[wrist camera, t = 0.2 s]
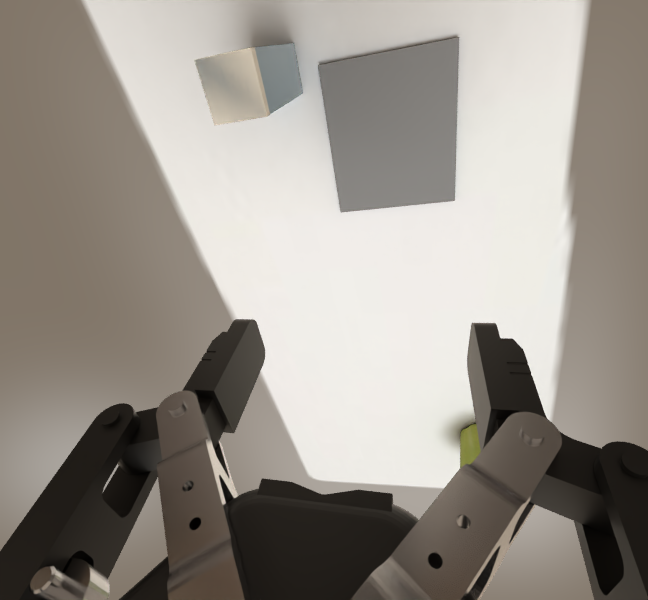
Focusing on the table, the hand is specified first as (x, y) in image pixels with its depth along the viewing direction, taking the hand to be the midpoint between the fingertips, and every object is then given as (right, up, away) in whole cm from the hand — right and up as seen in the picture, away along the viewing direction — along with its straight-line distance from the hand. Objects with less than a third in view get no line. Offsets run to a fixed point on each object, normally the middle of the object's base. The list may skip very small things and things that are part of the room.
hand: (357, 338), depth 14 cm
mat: (+5, +17, +22) cm, 29 cm away
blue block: (-6, +23, +21) cm, 31 cm away
